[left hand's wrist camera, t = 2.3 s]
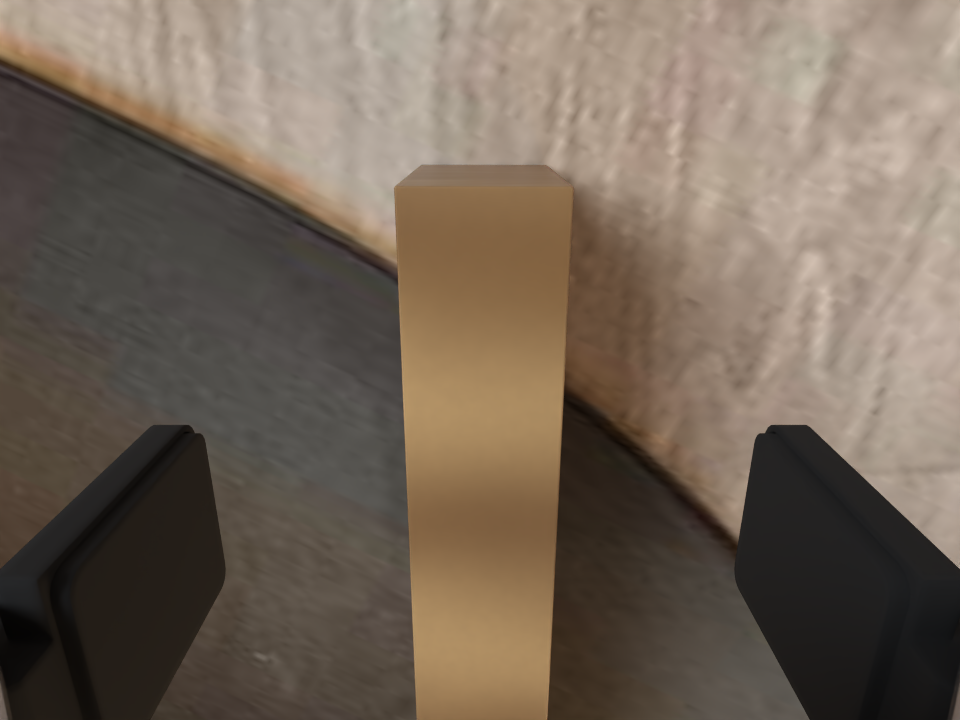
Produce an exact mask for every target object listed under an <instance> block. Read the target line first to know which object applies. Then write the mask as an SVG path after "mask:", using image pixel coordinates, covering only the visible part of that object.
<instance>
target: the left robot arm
mask: <svg viewBox="0 0 960 720" xmlns="http://www.w3.org/2000/svg"><path fill="white" fill-rule="evenodd" d="M225 570H226V568H225V560H224V554H223V548H222V541H221V535H220V529H219V523H218V517H217V511H216V504H215V498H214V492H213V486H212V480H211V474H210V468H209V461H208V455H207V449H206V443H205V439H204V437H203V435H202V434H200V433H195V432H194V430H193V429H192V427H191V426H189V425H153V426H151V427H150V428H149V429H148V430H147V431H146V432H144V433H143V434H142V435H141V436H140V437H139V438H138V439H137V440H136V441H135V442H134V443H133V444H132V445H131V446H130V447H129V448H128V449H127V450H125V451H124V452H123V453H122V454H121V455H120V456H119V457H118V458H117V459H116V460H115V461H114V462H113V463H112V464H111V465H110V466H109V467H108V468H106V469H105V470H104V471H103V472H102V473H101V474H100V475H99V476H98V477H97V478H96V479H95V480H94V481H93V482H92V483H91V484H90V485H89V486H87V487H86V488H85V489H84V490H83V491H82V492H81V493H80V494H79V495H78V496H77V497H76V498H75V499H74V500H73V501H72V502H71V503H70V504H68V505H67V506H66V507H65V508H64V509H63V510H62V511H61V512H60V513H59V514H58V515H57V516H56V517H55V518H54V519H53V520H52V521H51V522H49V523H48V524H47V525H46V526H45V527H44V528H43V529H42V530H41V531H40V532H39V533H38V534H37V535H36V536H35V537H34V538H33V539H32V540H30V541H29V542H28V543H27V544H26V545H25V546H24V547H23V548H22V549H21V550H20V551H19V552H18V553H17V554H16V555H15V556H14V557H13V558H11V559H10V560H9V561H8V562H7V563H6V564H5V565H4V566H3V567H2V568H1V569H0V720H150V719H151V717H152V715H153V714H154V712H155V710H156V708H157V706H158V704H159V703H160V701H161V699H162V697H163V695H164V693H165V692H166V690H167V688H168V686H169V684H170V682H171V681H172V679H173V677H174V675H175V673H176V671H177V670H178V668H179V666H180V664H181V662H182V660H183V659H184V657H185V655H186V653H187V651H188V649H189V648H190V646H191V644H192V642H193V640H194V638H195V637H196V635H197V633H198V631H199V629H200V627H201V626H202V624H203V622H204V620H205V618H206V616H207V615H208V613H209V611H210V609H211V607H212V605H213V604H214V602H215V600H216V598H217V596H218V594H219V592H220V591H221V589H222V586H223V583H224V580H225ZM734 570H735V580H736V583H737V586H738V589H739V591H740V592H741V594H742V596H743V598H744V600H745V602H746V604H747V605H748V607H749V609H750V611H751V613H752V615H753V616H754V618H755V620H756V622H757V624H758V626H759V627H760V629H761V631H762V633H763V635H764V637H765V638H766V640H767V642H768V644H769V646H770V648H771V649H772V651H773V653H774V655H775V657H776V659H777V660H778V662H779V664H780V666H781V668H782V670H783V671H784V673H785V675H786V677H787V679H788V681H789V682H790V684H791V686H792V688H793V690H794V692H795V693H796V695H797V697H798V699H799V701H800V703H801V704H802V706H803V708H804V710H805V712H806V714H807V715H808V717H809V719H810V720H960V569H959V568H958V567H957V566H956V565H955V564H954V563H953V562H952V561H951V560H950V559H949V558H947V557H946V556H945V555H944V554H943V553H942V552H941V551H940V550H939V549H938V548H937V547H936V546H935V545H934V544H933V543H932V542H931V541H930V540H928V539H927V538H926V537H925V536H924V535H923V534H922V533H921V532H920V531H919V530H918V529H917V528H916V527H915V526H914V525H913V524H912V523H911V522H909V521H908V520H907V519H906V518H905V517H904V516H903V515H902V514H901V513H900V512H899V511H898V510H897V509H896V508H895V507H894V506H893V505H892V504H890V503H889V502H888V501H887V500H886V499H885V498H884V497H883V496H882V495H881V494H880V493H879V492H878V491H877V490H876V489H875V488H874V487H873V486H871V485H870V484H869V483H868V482H867V481H866V480H865V479H864V478H863V477H862V476H861V475H860V474H859V473H858V472H857V471H856V470H855V469H854V468H852V467H851V466H850V465H849V464H848V463H847V462H846V461H845V460H844V459H843V458H842V457H841V456H840V455H839V454H838V453H837V452H836V451H835V450H833V449H832V448H831V447H830V446H829V445H828V444H827V443H826V442H825V441H824V440H823V439H822V438H821V437H820V436H819V435H818V434H817V433H816V432H814V431H813V430H812V429H811V428H810V427H809V426H807V425H771V426H769V427H768V429H767V430H766V432H765V433H760V434H758V435H757V437H756V439H755V443H754V449H753V455H752V461H751V468H750V474H749V480H748V486H747V492H746V498H745V504H744V511H743V517H742V523H741V529H740V535H739V541H738V548H737V554H736V560H735V568H734Z"/></svg>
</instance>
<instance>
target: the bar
mask: <svg viewBox="0 0 960 720" xmlns="http://www.w3.org/2000/svg"><path fill="white" fill-rule="evenodd" d="M394 194H395V217H396V241H397V264H398V288H399V312H400V335H401V359H402V382H403V406H404V430H405V453H406V477H407V500H408V524H409V548H410V571H411V595H412V618H413V642H414V666H415V689H416V713H417V720H547V719H548V699H549V679H550V659H551V639H552V619H553V599H554V579H555V559H556V539H557V519H558V499H559V479H560V459H561V438H562V418H563V398H564V378H565V358H566V338H567V318H568V298H569V278H570V258H571V238H572V218H573V198H574V187H573V186H572V185H570V184H569V183H568V182H567V181H565V180H564V179H563V178H562V177H560V176H559V175H558V174H557V173H555V172H554V171H553V170H552V169H550V168H549V167H548V166H546V165H421V166H420V167H418V168H417V169H416V170H415V171H413V172H412V173H411V174H410V175H408V176H407V177H406V178H405V179H404V180H402V181H401V182H400V183H399V184H397V185H396V186H395V188H394Z"/></svg>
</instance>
